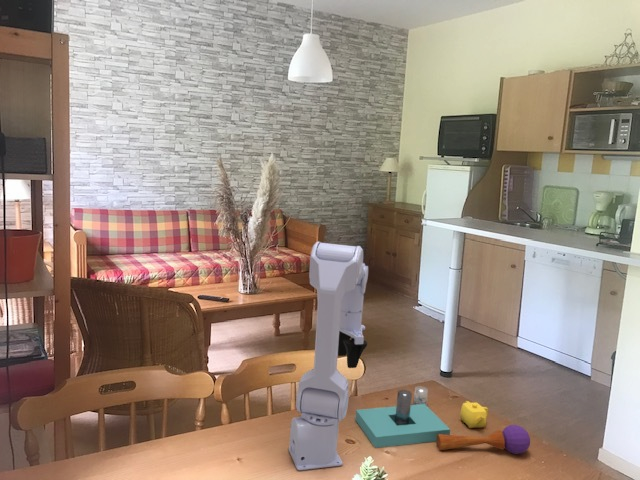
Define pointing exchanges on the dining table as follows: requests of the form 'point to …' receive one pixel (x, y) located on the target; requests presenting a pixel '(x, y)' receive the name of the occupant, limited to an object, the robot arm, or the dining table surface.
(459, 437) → the kendama
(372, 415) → the hole plate
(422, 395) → the short pin
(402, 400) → the tall pin
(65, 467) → the dining table surface
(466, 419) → the teapot
